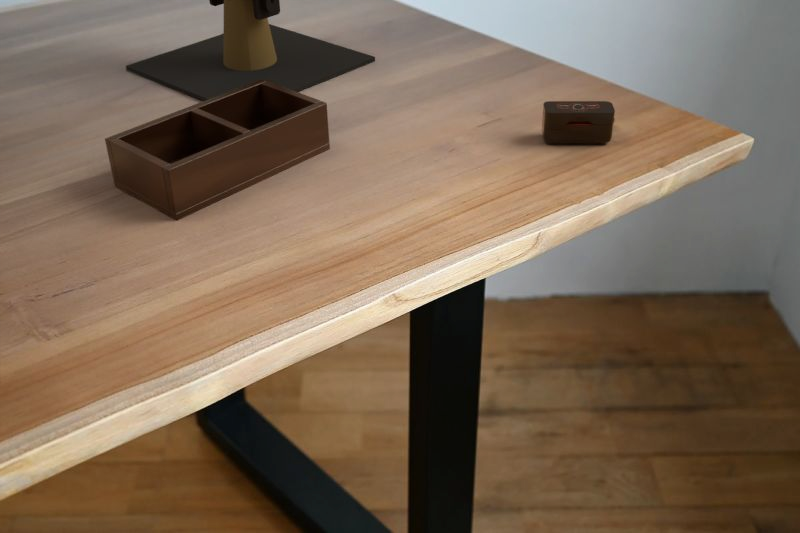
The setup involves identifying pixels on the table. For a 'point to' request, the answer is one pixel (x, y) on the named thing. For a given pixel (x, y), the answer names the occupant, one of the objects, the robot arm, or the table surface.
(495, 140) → the table surface
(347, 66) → the mat
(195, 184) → the organizer
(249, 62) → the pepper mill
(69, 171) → the table surface
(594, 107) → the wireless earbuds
